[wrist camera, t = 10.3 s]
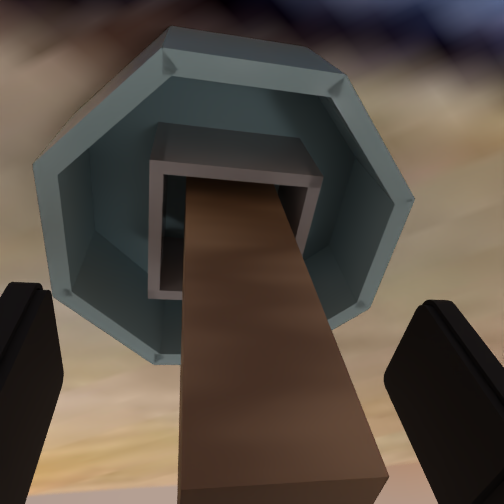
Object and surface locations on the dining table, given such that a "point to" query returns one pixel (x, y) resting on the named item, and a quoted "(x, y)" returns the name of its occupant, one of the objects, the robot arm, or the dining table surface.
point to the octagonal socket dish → (215, 167)
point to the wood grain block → (262, 364)
